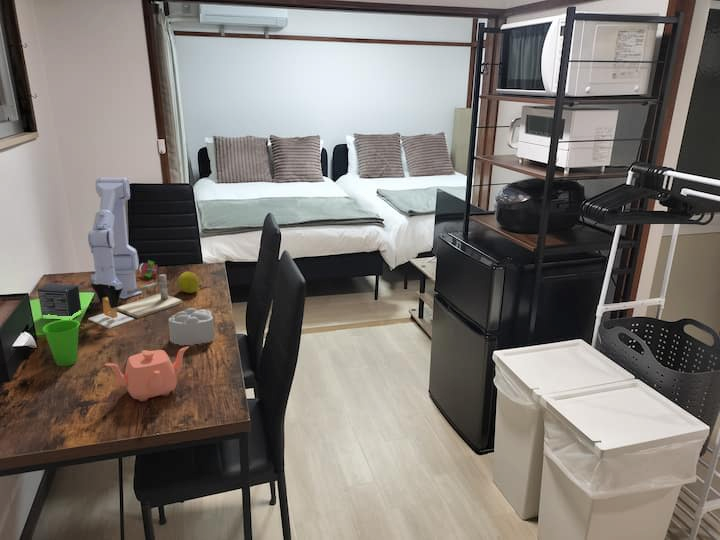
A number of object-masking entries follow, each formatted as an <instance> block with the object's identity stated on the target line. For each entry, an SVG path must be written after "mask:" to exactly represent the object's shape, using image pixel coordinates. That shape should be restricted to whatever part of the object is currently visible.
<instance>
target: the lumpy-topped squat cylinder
mask: <svg viewBox="0 0 720 540" xmlns="http://www.w3.org/2000/svg"><path fill="white" fill-rule="evenodd" d="M212 314H213V313H212V311H211V310H208V309H204V308H203V309H202V308H201V309H196V308H194V307H188V308H186V309H184V310H183V311H179V312H176V313H175V314H174V315H171V316H170V317H169V318H168V320H167V321H168V331H169V342H172V343H171V344H173V343H174V345H176V344H179V345H178V346H184V345H190V346H195V345H194V344H199V343H205V342H208V341H211V340H213V339H214V338H215V324H214V323H215V322H214V317H213V315H212ZM214 340H215V339H214ZM214 340H213V341H214ZM205 344H206V343H205ZM199 345H200V344H199Z"/></svg>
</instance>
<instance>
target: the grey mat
mask: <svg viewBox="0 0 720 540" xmlns="http://www.w3.org/2000/svg"><path fill="white" fill-rule="evenodd" d="M87 320H88V321H91V322H92V323H95V324H98V325H99V326H102V327H104V328H106V329H112V328H115V327H117V326H121V325H123V324H127V323H130V322H132V321H135V317H130V315H125V313H124V314H123V313H121V312H120V311H117V317H116V318H111V317H109V316H106V315H104V312H103V313H100V314H97V315H94V316H91V317H88V318H87Z"/></svg>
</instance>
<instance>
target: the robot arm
mask: <svg viewBox="0 0 720 540" xmlns="http://www.w3.org/2000/svg"><path fill="white" fill-rule="evenodd" d="M95 190H96V194H97V195H98V197H99V198H100V202H99V203H100V206H99V211H97V212H96V213H95V215H94V219H93V220H94V221H93V224H92V225H93V226H92V229H91V230H90V231H89V232H88V236H87V241H88V247H89V248H90V252H91V254H92V257H93V265H94V273H93V274H90V280H91V282H93V283H91V284H90V286H91V287H92V289H93V290H94V292H95V294H96V295H97V298H98V300H99V302H100V304H101V305H103V302H102V298H103V297H108V300H109V307H111V308H115V307H116V308H117V307H119V301H120V299H127V298H131V297H134V296H137V295H140V294H143V292H142V290H141V291H138V292H135V293H132V294H127V291H129V290H133V289H136V288H138V287H137V280H136V279H137V278H136V271H137V270H139V267H140V263H139V256H138V251H137V249H136V248H134V247H133V246H131V245H130V244H129V239H128V237H129V236H128V227H127V214H126V201H128V200H130V199H131V189H130V181H129V179H128V178H127V177H101V176H98V177H97V178H96V179H95Z"/></svg>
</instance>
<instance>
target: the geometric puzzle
mask: <svg viewBox="0 0 720 540" xmlns="http://www.w3.org/2000/svg"><path fill="white" fill-rule="evenodd" d="M158 267H159V265H158V264H157V263H155V261H153V260H149V259H148V260H147V261H145V262H142V263H139V266H138V271H139V272H140V273H141V274H142V275H144V277H146V278H150V279H151V278H152V277H153V276H155V275H157V272H158V270H159V269H158Z"/></svg>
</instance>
